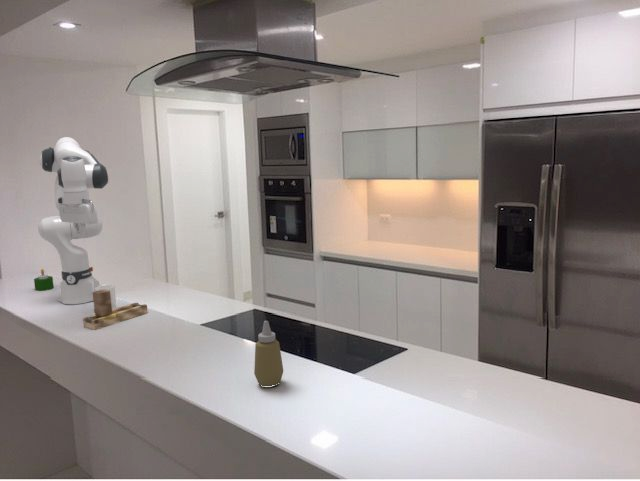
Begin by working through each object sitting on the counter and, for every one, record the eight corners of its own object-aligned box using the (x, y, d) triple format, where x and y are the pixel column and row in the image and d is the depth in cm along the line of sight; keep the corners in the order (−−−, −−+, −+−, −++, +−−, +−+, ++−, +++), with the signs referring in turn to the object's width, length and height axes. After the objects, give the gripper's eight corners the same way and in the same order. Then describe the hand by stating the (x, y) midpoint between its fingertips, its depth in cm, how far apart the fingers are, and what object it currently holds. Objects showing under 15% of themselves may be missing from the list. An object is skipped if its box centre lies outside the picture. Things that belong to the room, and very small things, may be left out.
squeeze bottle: (251, 390, 147) (247, 326, 144) (258, 377, 155) (255, 316, 152) (280, 390, 146) (277, 326, 143) (286, 378, 154) (283, 316, 151)
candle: (38, 287, 274) (35, 268, 273) (55, 286, 276) (53, 266, 274) (32, 291, 266) (30, 271, 264) (51, 290, 268) (48, 270, 266)
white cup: (104, 313, 224) (101, 290, 222) (93, 310, 229) (91, 287, 227) (121, 308, 230) (118, 285, 229) (110, 306, 235) (108, 283, 233)
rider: (105, 315, 213) (102, 289, 212) (112, 317, 211) (109, 290, 209) (95, 318, 210) (92, 292, 208) (102, 320, 207) (99, 293, 205)
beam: (136, 310, 227) (136, 302, 226) (147, 312, 223) (146, 304, 222) (83, 327, 207) (82, 318, 207) (94, 330, 203) (93, 321, 203)
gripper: (99, 198, 207) (103, 234, 210) (69, 197, 219) (73, 231, 221) (84, 200, 202) (88, 237, 205) (54, 199, 214) (58, 234, 216)
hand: (80, 234), depth 213 cm, fingers closed
